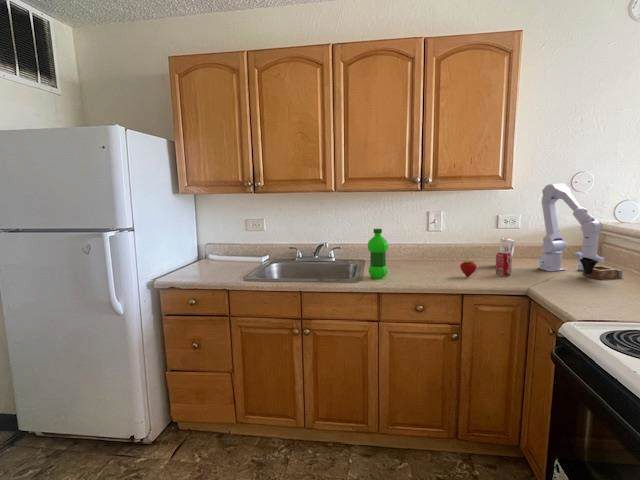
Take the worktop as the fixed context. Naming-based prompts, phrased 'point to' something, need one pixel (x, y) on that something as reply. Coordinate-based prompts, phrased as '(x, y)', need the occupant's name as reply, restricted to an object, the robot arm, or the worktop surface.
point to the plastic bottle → (378, 255)
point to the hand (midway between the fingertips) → (587, 274)
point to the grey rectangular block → (580, 265)
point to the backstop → (618, 273)
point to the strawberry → (468, 268)
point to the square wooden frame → (602, 272)
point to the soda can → (503, 263)
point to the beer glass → (507, 245)
